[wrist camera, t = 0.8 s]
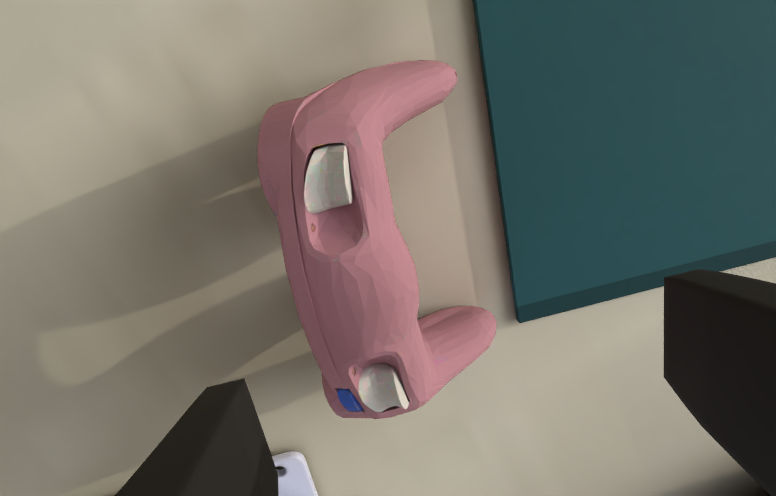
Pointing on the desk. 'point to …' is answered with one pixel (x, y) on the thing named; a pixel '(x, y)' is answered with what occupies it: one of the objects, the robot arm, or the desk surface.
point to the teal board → (629, 141)
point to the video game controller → (361, 242)
